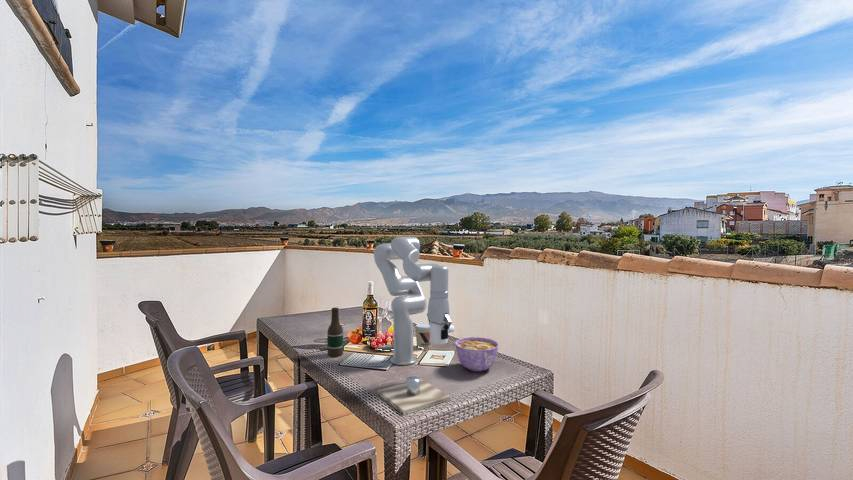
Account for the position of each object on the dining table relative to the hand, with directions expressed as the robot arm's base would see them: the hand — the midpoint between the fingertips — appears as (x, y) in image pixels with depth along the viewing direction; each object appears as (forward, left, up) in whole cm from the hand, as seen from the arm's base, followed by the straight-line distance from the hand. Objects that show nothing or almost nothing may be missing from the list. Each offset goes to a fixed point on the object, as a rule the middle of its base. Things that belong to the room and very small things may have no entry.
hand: (438, 336), depth 162 cm
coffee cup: (-40, +19, -19) cm, 48 cm away
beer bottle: (-55, -25, -19) cm, 63 cm away
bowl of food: (-1, +22, -19) cm, 29 cm away
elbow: (0, +2, -2) cm, 3 cm away
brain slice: (-52, +1, -19) cm, 55 cm away
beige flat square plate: (+8, -18, -19) cm, 27 cm away
